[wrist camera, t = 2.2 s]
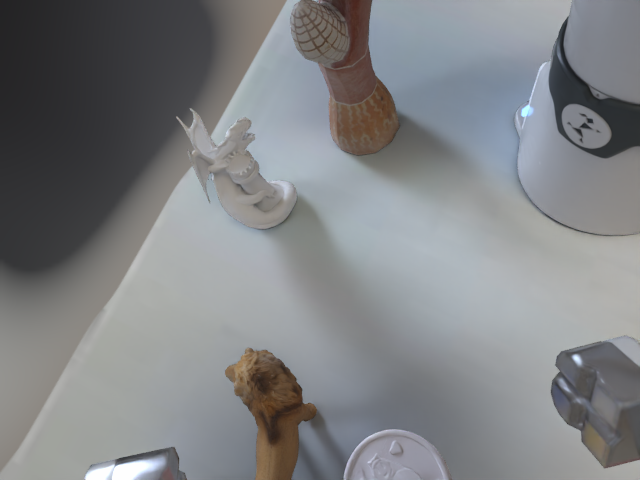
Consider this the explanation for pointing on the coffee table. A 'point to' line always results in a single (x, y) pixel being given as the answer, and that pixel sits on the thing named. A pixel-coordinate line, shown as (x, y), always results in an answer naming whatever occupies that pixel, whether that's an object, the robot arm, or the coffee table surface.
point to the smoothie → (396, 458)
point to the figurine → (239, 176)
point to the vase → (346, 72)
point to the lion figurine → (271, 410)
